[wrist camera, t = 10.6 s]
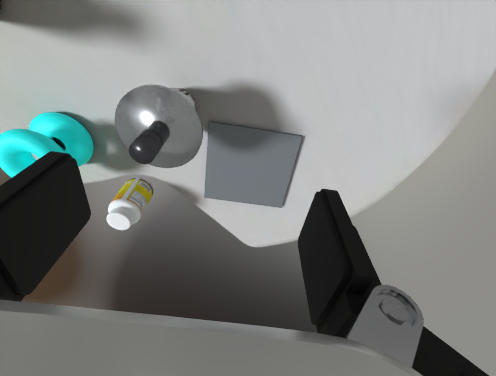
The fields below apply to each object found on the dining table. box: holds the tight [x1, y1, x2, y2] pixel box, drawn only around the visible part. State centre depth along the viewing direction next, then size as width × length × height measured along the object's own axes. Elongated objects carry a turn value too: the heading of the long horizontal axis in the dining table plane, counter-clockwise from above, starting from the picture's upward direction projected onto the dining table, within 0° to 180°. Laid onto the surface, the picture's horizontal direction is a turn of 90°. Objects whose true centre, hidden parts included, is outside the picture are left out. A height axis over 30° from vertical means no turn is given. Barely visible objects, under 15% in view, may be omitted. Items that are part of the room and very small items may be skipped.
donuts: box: [0, 112, 94, 178], centre depth 41 cm, size 10×10×10 cm
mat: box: [204, 121, 302, 208], centre depth 48 cm, size 16×16×1 cm
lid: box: [115, 85, 203, 168], centre depth 31 cm, size 11×11×7 cm
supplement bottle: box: [107, 177, 153, 230], centre depth 47 cm, size 6×6×10 cm
